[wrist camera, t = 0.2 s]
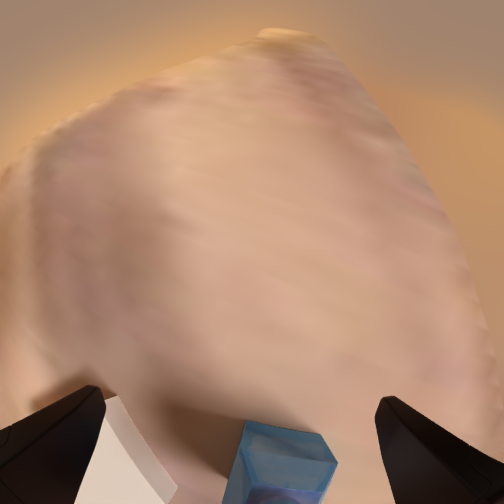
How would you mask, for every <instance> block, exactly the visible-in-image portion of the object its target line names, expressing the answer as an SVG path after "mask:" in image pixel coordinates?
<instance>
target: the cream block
mask: <svg viewBox="0 0 504 504" xmlns="http://www.w3.org/2000/svg"><path fill="white" fill-rule="evenodd" d="M105 403H106V413H105V416H104V420H103V423H102V427H101V430H100V434H99V437H98V441H97V444H96V447H95V450H94V452H93V455H92V457H91V460H90V463H89V465H88V468H87V470H86V473H85V475H84V478H83V481H82V483H81V486H80V489H79V492H78V494H77V497H76V500H75V503H74V504H168V503H169V501H170V500H171V498H172V497H173V495H174V494H175V492H176V490H177V489H178V486H177V485H176V483H175V482H174V481H173V480H172V478H171V477H170V476H169V474H168V473H167V472H166V470H165V469H164V468H163V466H162V465H161V463H160V462H159V461H158V459H157V458H156V456H155V455H154V453H153V452H152V450H151V449H150V447H149V446H148V444H147V443H146V441H145V440H144V438H143V437H142V435H141V434H140V432H139V430H138V429H137V427H136V426H135V424H134V422H133V421H132V419H131V417H130V416H129V414H128V412H127V410H126V409H125V407H124V405H123V403H122V402H121V400H120V398H119V396H115V397H112V398H109V399H106V400H105Z"/></svg>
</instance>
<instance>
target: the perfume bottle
mask: <svg viewBox="0 0 504 504" xmlns="http://www.w3.org/2000/svg"><path fill="white" fill-rule="evenodd" d="M337 464H338V462H337V460H336V459H335V457H334V456H333V454H332V452H331V451H330V449H329V447H328V446H327V444H326V442H325V441H324V439H323V438H322V436H321V434H314V433H307V432H301V431H296V430H290V429H285V428H280V427H275V426H270V425H265V424H261V423H257V422H252V421H248V420H246V424H245V427H244V430H243V434H242V437H241V440H240V444H239V447H238V450H237V454H236V457H235V460H234V463H233V466H232V469H231V473H230V476H229V479H228V482H227V486H226V490H225V494H224V497H223V501H222V504H321V502H322V500H323V498H324V495H325V493H326V491H327V488H328V486H329V484H330V481H331V479H332V477H333V474H334V472H335V469H336V467H337Z"/></svg>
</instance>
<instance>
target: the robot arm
mask: <svg viewBox="0 0 504 504" xmlns="http://www.w3.org/2000/svg"><path fill="white" fill-rule="evenodd" d="M105 413H106V403H105V400H104V398H103V395H102V392H101V389H100V388H99V387H97V386H93V385H87V386H85V387H83V388H81V389H79V390H77V391H75V392H74V393H72V394H70V395H68V396H66V397H64V398H62V399H60V400H59V401H57V402H55V403H53V404H51V405H49V406H47V407H45V408H43V409H41V410H39V411H37V412H36V413H34V414H32V415H30V416H28V417H26V418H24V419H22V420H20V421H18V422H16V423H14V424H12V425H10V426H8V427H6V428H4V429H1V430H0V504H74V503H75V500H76V497H77V494H78V492H79V489H80V486H81V483H82V481H83V478H84V475H85V473H86V470H87V468H88V465H89V463H90V460H91V457H92V455H93V452H94V450H95V447H96V444H97V441H98V437H99V434H100V430H101V427H102V423H103V420H104V416H105ZM375 424H376V429H377V434H378V440H379V445H380V450H381V455H382V460H383V463H384V466H385V470H386V473H387V476H388V479H389V483H390V486H391V490H392V493H393V496H394V500H395V503H396V504H504V463H502V462H500V461H498V460H496V459H493V458H491V457H489V456H488V455H486V454H484V453H482V452H481V451H479V450H477V449H476V448H474V447H472V446H471V445H470V446H469V444H467V443H466V442H464V441H463V440H461V439H459V438H458V437H456V436H455V435H453V434H452V433H450V432H448V431H447V430H445V429H444V428H442V427H441V426H439V425H438V424H436V423H435V422H433V421H431V420H430V419H428V418H427V417H425V416H424V415H422V414H421V413H419V412H418V411H416V410H415V409H413V408H412V407H410V406H409V405H407V404H406V403H404V402H403V401H401V400H400V399H398V398H397V397H395V396H387V397H383V398H382V399H381V400H380V403H379V406H378V408H377V411H376V414H375Z"/></svg>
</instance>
